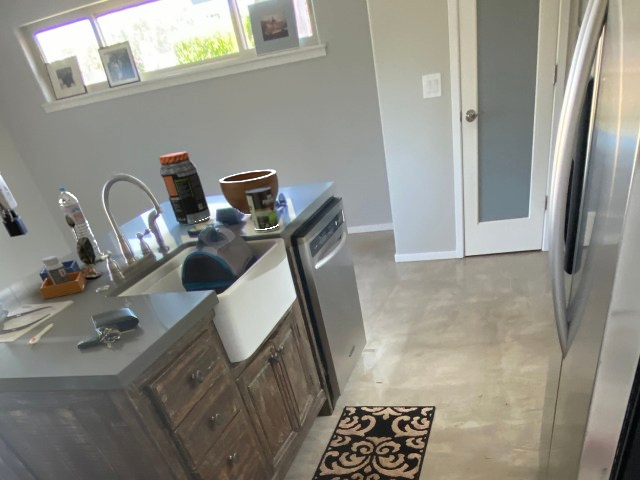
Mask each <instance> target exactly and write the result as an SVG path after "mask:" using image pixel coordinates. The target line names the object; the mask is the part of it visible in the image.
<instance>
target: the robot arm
mask: <svg viewBox="0 0 640 480" xmlns="http://www.w3.org/2000/svg"><path fill="white" fill-rule="evenodd" d="M1 173H2V172H1V171H0V217H1V219H2V222H3V221H4V223H5V225H6V226H7V228H8V230H9V232H10V234H11V236H13V237H12V238H15V237H20V236H23V235H22V232H21V230H20V229H19V227H18V225H17V223H16V221H14V219H13V218H15V217H19V215H18V213H17V211H16V208H17V207H18V203H17V201H16V199H15V197H14V195H13V194H12V192H11V190H10V188H9V187H8V185H7V183H6V182H5V180H4V178H3V177H2V175H1ZM19 235H20V236H19ZM14 236H15V237H14Z"/></svg>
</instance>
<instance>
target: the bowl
mask: <svg viewBox="0 0 640 480" xmlns="http://www.w3.org/2000/svg"><path fill="white" fill-rule="evenodd" d="M219 185H220V186H219V187H220V190H221V192H222V195H223V197H224V199H225V200H226V202H227V203H228V205H230V206H231V208H232V209H234V208H236V209H238V210H239V211H240V212H242V213H244V214H251V212H250V208H249V204H248V200H247V196H246V193H245V192H246V191H247V190H250V189H254V188H259V187H271V189H272V195H273V200H274V204H275V203H276V201H277V198H278V196H279V187H280V186H279V178H278V174H277V171H276V170H274V169H261V170H260V169H258V170H252V171H245V172H240V173H236V174H232V175H228V176H225V177H223V178H221V179H219ZM240 212H239V213H240ZM242 213H241V214H242ZM244 214H243V215H244Z"/></svg>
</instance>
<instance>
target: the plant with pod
mask: <svg viewBox="0 0 640 480" xmlns="http://www.w3.org/2000/svg"><path fill="white" fill-rule="evenodd" d="M65 217H66V219H65V221H66V224H67V225H68V227H69V226H70V227H71V229H72V227H73V228H74V226H75V222H74V220H73V218H72V217H71V216H69V215H66V216H65ZM65 217H64V218H65ZM74 231H75V228H74ZM75 233H76V231H75ZM76 236H77V233H76ZM77 239H78V236H77ZM76 254H77V257H78V258H79V260H80V262H82V263H83V264H86V267H87V268H86V269H82V270H81V271H82V273H83V275H84V277H85V278H96V277H99V276H100V275H102V274H103V271H102V270H99V271H96V270H95V268H94V266H96V262H95V258H96V256H95V252H94V249H93V246H92V244H91V242H90V240H89V239H88V238H87V237H80V239H78V241H77V243H76Z"/></svg>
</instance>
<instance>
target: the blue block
mask: <svg viewBox="0 0 640 480" xmlns="http://www.w3.org/2000/svg"><path fill="white" fill-rule="evenodd" d="M13 219H14V221H16V223H17V225H18V227H19V229H20V230H21V232H22V235H19V236H18V237H20V236H25V235H26V234H27V233H28V232H29V231H28V229H27V227H26V224H24V221H23V219H22V217H21V216H18V217H15V218H13ZM2 224H3V226H4V228H5V230H6V232H7V233H8V235H9V238H15V237H16V236H14V237H13V236H11V234H10V232H9V230H8V228H7V226H6V225H5V223H4V221H3V220H2Z"/></svg>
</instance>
